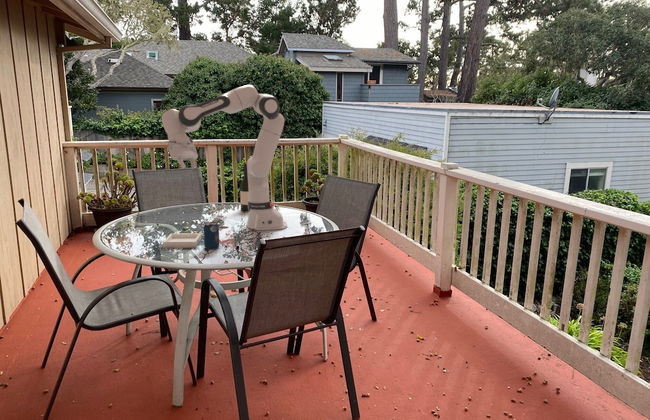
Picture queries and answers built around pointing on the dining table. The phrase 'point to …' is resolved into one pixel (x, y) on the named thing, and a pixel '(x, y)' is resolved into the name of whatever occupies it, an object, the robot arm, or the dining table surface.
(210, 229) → the soda can
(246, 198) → the wine bottle
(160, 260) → the dining table surface
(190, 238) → the tray
